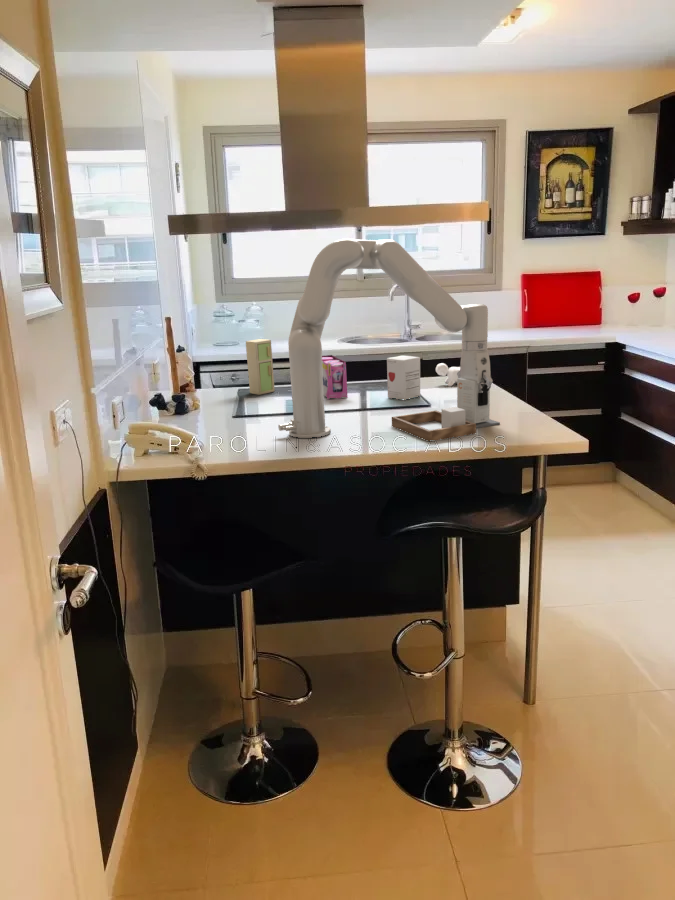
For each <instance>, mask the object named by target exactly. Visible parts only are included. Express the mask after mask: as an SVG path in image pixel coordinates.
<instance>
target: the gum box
mask: <svg viewBox="0 0 675 900" xmlns="http://www.w3.org/2000/svg"><path fill="white" fill-rule="evenodd" d="M346 363H347V362H346V361H345V360H343V359H341V358H338V357H336V356H335V355H333V354H329V355H328V354H327V355H322V375H323V393H324V397H325V396H326V397H327V398H326V397H325V398H326V399H327V400H329V398H336V399H342V398H341V397H347V398H348V381H347V379H348V378H347V364H346Z"/></svg>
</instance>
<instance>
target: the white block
mask: <svg viewBox="0 0 675 900" xmlns="http://www.w3.org/2000/svg"><path fill="white" fill-rule="evenodd" d="M441 412H442V423H441V428H447V427H453V426H459V425H465V410H464V409H461V408H458V407H457V406H455V407H454V406H453V407H446V408H441Z"/></svg>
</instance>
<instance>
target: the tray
mask: <svg viewBox="0 0 675 900" xmlns="http://www.w3.org/2000/svg"><path fill="white" fill-rule="evenodd" d="M428 421H429V422H434V421H436V422H438V423H440V424H442V411H439V410H436V409H435V410H429V411H423V412H416V413H409V414H402V415H396V416H391V427H392V426H393V427H392V428H395V429H397V428H398V429H397V430H399V429H401V430H400V431H402V430H403V431H402V432H404V431H406V432H405V433H407V432H408V433H407V434H409V433H411V434H413V435H412V436H414V435H415V436H414V437H416V436H418V437H417V438H419V437H420V438H419V439H421V438H423V439H425V440H424V441H426V440H428V441H430V440H436V441H441V440H440V439H442V440H446V439H447V438H448V439H452V437H454V438H459V437H458V436H460V437H465V436H464V435H466V436H471V435H470V434H472V435H476V434H477V428H476V424H475V423H472V422H469V421H466V420H465V425H459V426H453V427H447V428H442V427H441V428H435V429H427V428H425V427H423V426H420V425H418V424H421V423H422V424H423V423H427V422H428ZM413 423H416V424H413ZM475 433H476V434H475ZM411 434H410V435H411ZM423 439H422V440H423ZM428 441H427V442H428ZM430 442H431V441H430Z"/></svg>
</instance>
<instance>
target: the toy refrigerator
mask: <svg viewBox="0 0 675 900" xmlns="http://www.w3.org/2000/svg"><path fill="white" fill-rule="evenodd" d="M245 349H246V350H245V351H246V360H247V375H248V384H249V385H248V386H249V393H250V394H253V395H265V394H269V393H273V392H275V389H276V388H275V378H274V376H275V375H274V366H273V363H274V362H273V348H272V340H271V339H265V338H259V339H251V340H246V341H245Z"/></svg>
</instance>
